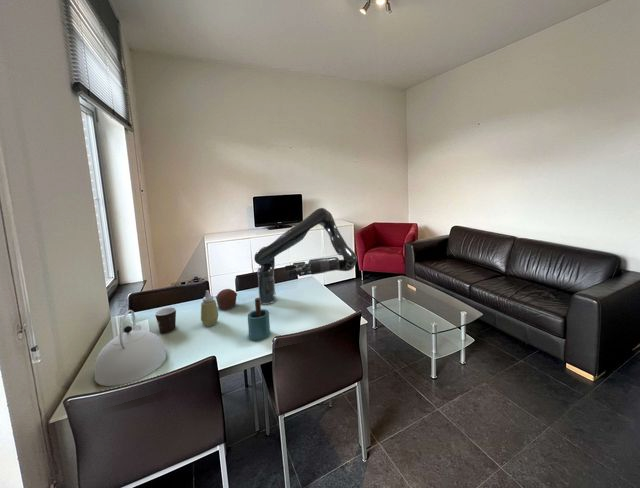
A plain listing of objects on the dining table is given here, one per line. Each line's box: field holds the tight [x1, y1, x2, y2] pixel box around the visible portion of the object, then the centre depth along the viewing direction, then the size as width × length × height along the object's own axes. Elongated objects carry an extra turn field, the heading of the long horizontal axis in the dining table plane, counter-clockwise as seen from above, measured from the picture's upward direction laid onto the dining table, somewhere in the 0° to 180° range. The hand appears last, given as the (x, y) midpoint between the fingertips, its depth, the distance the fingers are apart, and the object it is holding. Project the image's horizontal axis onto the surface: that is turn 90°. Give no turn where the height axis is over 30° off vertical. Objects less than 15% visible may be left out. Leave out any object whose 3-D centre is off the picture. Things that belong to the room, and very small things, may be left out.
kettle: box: [94, 309, 167, 387], centre depth 121 cm, size 25×23×22 cm
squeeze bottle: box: [200, 289, 219, 327], centre depth 153 cm, size 8×8×18 cm
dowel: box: [254, 297, 262, 317], centre depth 142 cm, size 5×5×18 cm
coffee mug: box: [154, 306, 177, 335], centre depth 147 cm, size 12×9×10 cm
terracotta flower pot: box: [215, 288, 238, 311], centre depth 173 cm, size 12×11×10 cm
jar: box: [247, 308, 271, 342], centre depth 142 cm, size 9×9×11 cm
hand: (286, 270), depth 145 cm, fingers open, 8 cm apart
